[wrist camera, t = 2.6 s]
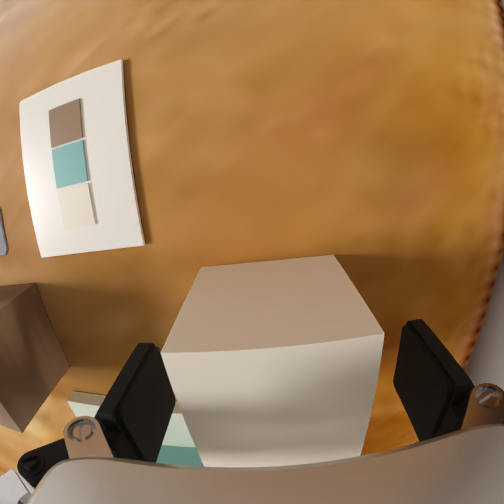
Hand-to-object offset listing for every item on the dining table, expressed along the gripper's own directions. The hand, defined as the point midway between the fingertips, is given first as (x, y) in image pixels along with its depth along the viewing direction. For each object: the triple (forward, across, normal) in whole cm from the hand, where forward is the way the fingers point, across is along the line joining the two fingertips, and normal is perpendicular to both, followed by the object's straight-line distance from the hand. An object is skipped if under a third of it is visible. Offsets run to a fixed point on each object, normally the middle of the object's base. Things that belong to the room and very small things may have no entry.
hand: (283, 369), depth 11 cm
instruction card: (+3, +8, -8) cm, 12 cm away
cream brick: (+3, 0, 0) cm, 3 cm away
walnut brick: (+3, +15, 0) cm, 16 cm away
